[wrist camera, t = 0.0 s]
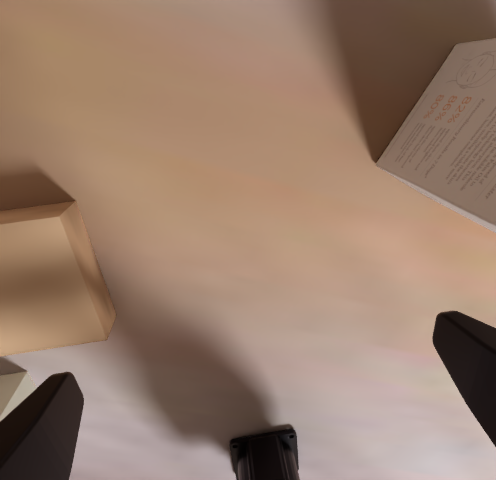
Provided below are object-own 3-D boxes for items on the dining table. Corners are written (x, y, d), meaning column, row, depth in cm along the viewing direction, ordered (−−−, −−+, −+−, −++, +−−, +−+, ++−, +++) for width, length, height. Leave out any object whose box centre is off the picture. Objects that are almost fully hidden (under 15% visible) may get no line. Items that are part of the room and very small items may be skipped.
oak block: (117, 311, 25) (107, 339, 23) (-6, 330, 25) (-31, 361, 22) (78, 198, 21) (59, 216, 19) (-70, 218, 21) (-111, 239, 18)
